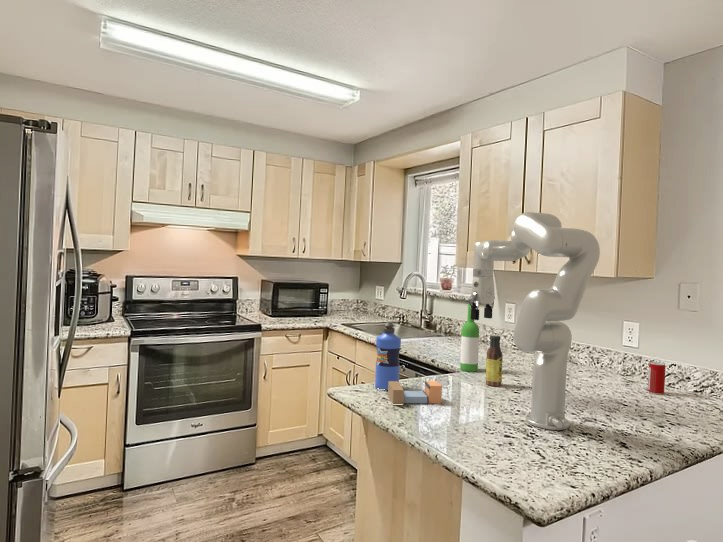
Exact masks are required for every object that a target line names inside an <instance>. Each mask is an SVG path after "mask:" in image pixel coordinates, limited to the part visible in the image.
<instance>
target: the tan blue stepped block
mask: <svg viewBox="0 0 723 542" xmlns="http://www.w3.org/2000/svg"><path fill="white" fill-rule="evenodd" d="M388 396H389V397H388ZM387 397H388V399H389V398H390V399H389V401H390V400H391V401H390V403H391V402H392V403H393V404H403V405H405V404H404V403H428V395H427V394H426V393H425V390H405V389H404V388H403V387H402V385H401V383H400V381H399V382H398V381H388V391H387ZM392 403H391V404H392ZM428 404H429V403H428Z"/></svg>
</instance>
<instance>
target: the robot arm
mask: <svg viewBox="0 0 723 542" xmlns="http://www.w3.org/2000/svg"><path fill="white" fill-rule="evenodd" d="M512 228H513V229H512V231H511V233H510V239H511V240H498V239H497V240H495V239H487V240H484V241H476V242H474V244H473V261H472V265H473V266H472V283H471V292H470V293H471V294H470V296H469V297H468V301H469V304H470V308H471V319H472V320H474V321H479V320H480V309H479V308H480V305H484V309H483V318H484V319H489V320H490V319H491V320H492V318H493V309H494V304H495V300H496V299H495V298H496V297H495V293H496V292H495V281H494V266H495V265H494V263H495V262H513V261H518V260H520V259H522V258H525V257H527V256H528V254H529V253H530V252H531V249H532V250H533V251H534V252H535V253H537V254H538V255H541V256H544V257H550V258H551V257H553V258H557V257H558V258H568V261H566V262H565V263H564V265H562V266H561V268H559V270H558V272H557V274H556V276H555V280H554V282H553V284H552V286H551V287H549V288H535V289H533V290H531V291H530V292H528V294H526V296H525V297H524V299H523V302H522V304H521V308H520V310H519V313H518V317H517V320H516V323H515V326H514V330H513V342H514V345H515V347H516V348H517V350H519V351H520V352H523V353H531V354H533V353H534V354H535V353H536V355H535V358H534V360H533V366H532V378H531V379H532V380H531V381H532V382H531V405H530V413H527V414H526V415H525V422H527V424H529V425H531V426H534V427H537V428H541V429H544V430H553V431H562V430H563V431H564V430H567V429H569V428H570V424H571V423H570V420H568V419H567V418H566V417H565V416H566V414H565V411H566V410H565V409H566V408H565V407H566V390H567V388H566V386H567V371H568V370H567V368H568V358H569V352H570V349H571V346H572V345H571V344H572V338H573V335H572V331H571V329H570V327H569V326H568V325H567V324H566V323H564V321H569V320H572V319H573V318H574V317H575V316H576V314H577V313H578V309H580V308H579V307H580V305H581V302H582V299H583V297H584V294H585V291H586V289H587V286H588V284H589V281H590V279H591V277H592V275H593V273H594V271H595V270H596V267H597V266H598V264H599V261H600V255H601V248H600V243H599V240H598V239H597V238H596V237H595V236H594V235H593V233H591V232H590V231H587V230H584V229H580V228H572V227H571V228H568V227H562V222H561V220H560V218H558V217H557V216H556V215H554V214H551V213H545V212H534V211H533V212H531V211H528V212H527V211H525V212H523V213H521V214H519V215H518V216H517V217H516V218H515V220H514V222H513V227H512Z"/></svg>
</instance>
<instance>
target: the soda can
mask: <svg viewBox="0 0 723 542" xmlns="http://www.w3.org/2000/svg"><path fill="white" fill-rule="evenodd" d="M647 374H648V377H647V392H648V393H649V392H650V393H649V394H652V395H658V396H659V395H660V396H662V395H664V394H665V384H666V365H665V363H664V362H660V361H650V362H649V365H648V373H647Z"/></svg>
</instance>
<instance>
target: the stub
mask: <svg viewBox="0 0 723 542" xmlns="http://www.w3.org/2000/svg"><path fill="white" fill-rule="evenodd" d="M442 386H443V385H442V384H441V383H439V381H436V380H431V381H430V380H424V392H425V393H426V394H427V395H428V402H429V403H428V404H442V395H443V394H442V392H443V391H442V389H443V387H442Z"/></svg>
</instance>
